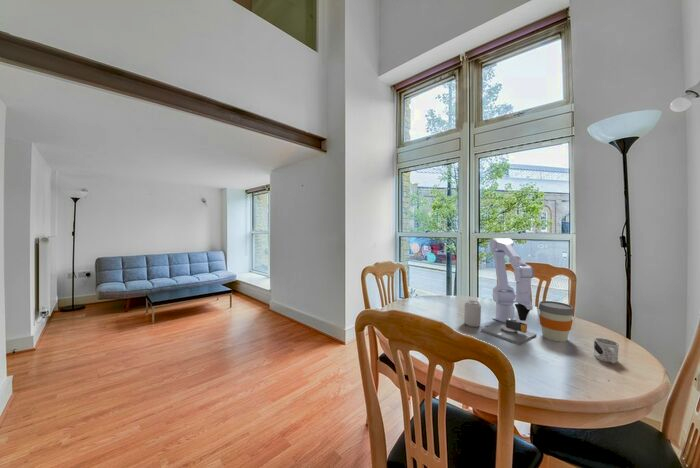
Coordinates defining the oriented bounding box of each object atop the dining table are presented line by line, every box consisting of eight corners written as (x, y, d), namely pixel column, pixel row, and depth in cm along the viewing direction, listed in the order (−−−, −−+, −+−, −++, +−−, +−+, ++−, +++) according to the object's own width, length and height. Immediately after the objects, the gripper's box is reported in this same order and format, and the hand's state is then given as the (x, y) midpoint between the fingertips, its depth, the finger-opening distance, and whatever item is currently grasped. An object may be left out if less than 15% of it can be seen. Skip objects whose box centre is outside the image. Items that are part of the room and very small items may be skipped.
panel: (498, 324, 135) (498, 321, 135) (536, 336, 121) (536, 333, 121) (481, 331, 126) (481, 328, 126) (519, 345, 112) (519, 342, 112)
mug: (590, 352, 105) (591, 336, 105) (612, 356, 103) (613, 339, 102) (601, 364, 96) (602, 347, 96) (626, 369, 94) (627, 351, 93)
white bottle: (477, 322, 137) (477, 299, 137) (482, 328, 130) (483, 304, 130) (462, 321, 138) (462, 299, 138) (467, 327, 131) (467, 303, 130)
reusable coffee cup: (573, 337, 120) (574, 304, 119) (571, 346, 111) (573, 311, 110) (539, 329, 129) (540, 299, 128) (535, 337, 119) (536, 304, 119)
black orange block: (497, 329, 126) (498, 318, 126) (505, 326, 130) (505, 315, 129) (521, 337, 117) (522, 325, 117) (529, 333, 121) (529, 322, 121)
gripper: (507, 287, 131) (507, 314, 131) (520, 295, 117) (519, 325, 117) (523, 288, 129) (522, 315, 130) (538, 296, 115) (537, 326, 116)
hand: (522, 320), depth 123 cm, fingers closed
